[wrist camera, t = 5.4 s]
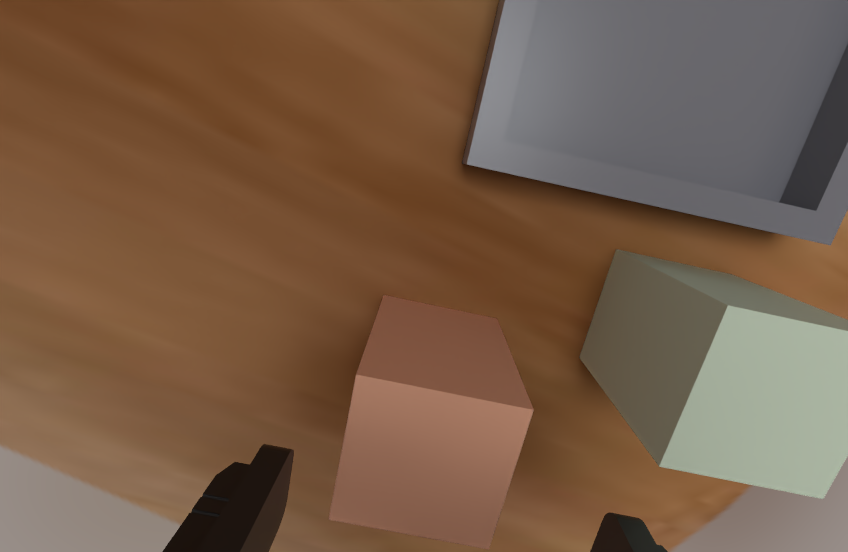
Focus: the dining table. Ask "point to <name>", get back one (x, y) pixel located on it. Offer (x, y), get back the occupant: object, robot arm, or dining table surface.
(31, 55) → the dining table surface
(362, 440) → the terracotta block
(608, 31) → the tray
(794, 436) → the sage block
